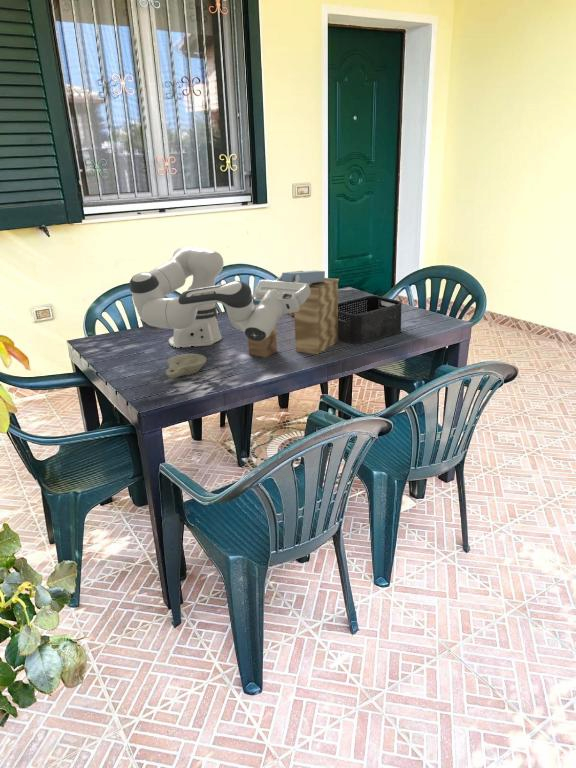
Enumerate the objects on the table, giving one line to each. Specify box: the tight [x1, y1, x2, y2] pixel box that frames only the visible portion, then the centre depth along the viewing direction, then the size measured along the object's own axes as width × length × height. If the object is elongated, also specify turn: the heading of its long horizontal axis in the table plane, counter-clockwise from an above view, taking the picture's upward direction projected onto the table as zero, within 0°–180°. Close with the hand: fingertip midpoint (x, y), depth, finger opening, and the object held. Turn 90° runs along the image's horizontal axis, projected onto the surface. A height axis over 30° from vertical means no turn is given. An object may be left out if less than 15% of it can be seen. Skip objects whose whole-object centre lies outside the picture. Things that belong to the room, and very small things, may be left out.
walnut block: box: [247, 332, 278, 358], centre depth 227 cm, size 8×8×8 cm
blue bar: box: [281, 270, 326, 283], centre depth 214 cm, size 26×4×4 cm, turn 150°
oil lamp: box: [165, 353, 207, 379], centre depth 208 cm, size 21×14×5 cm
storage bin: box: [338, 295, 403, 346], centre depth 244 cm, size 29×19×13 cm
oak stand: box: [294, 277, 340, 355], centre depth 229 cm, size 19×11×26 cm, turn 150°
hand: (291, 276), depth 206 cm, fingers open, 4 cm apart
